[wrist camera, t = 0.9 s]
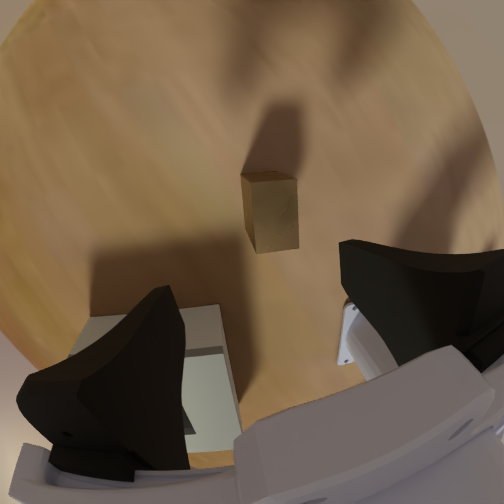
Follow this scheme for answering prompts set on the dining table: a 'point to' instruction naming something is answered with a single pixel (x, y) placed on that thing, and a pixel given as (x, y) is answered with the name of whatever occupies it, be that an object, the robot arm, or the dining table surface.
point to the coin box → (195, 377)
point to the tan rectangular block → (270, 211)
